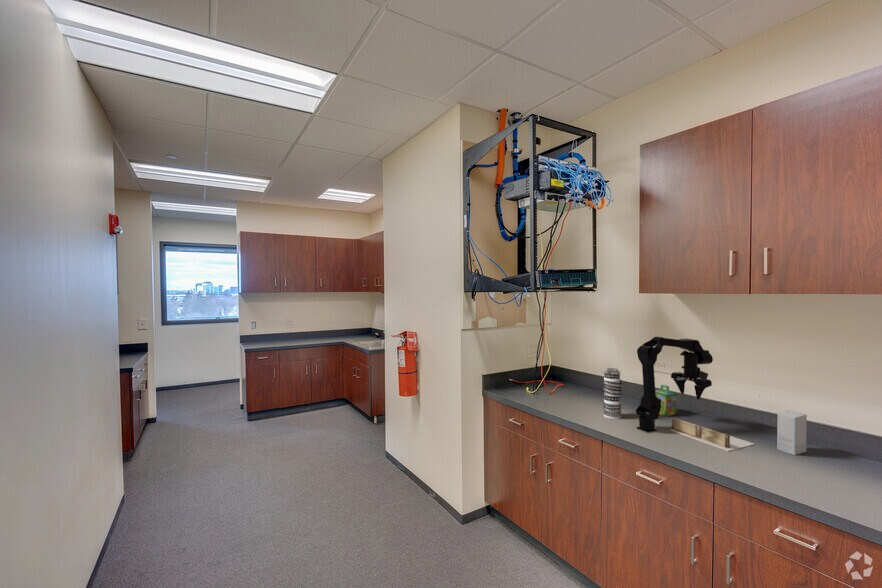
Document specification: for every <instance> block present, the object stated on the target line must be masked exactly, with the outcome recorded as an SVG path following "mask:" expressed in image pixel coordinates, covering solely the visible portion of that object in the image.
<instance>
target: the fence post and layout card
mask: <svg viewBox="0 0 882 588" xmlns="http://www.w3.org/2000/svg"><path fill="white" fill-rule="evenodd" d="M703 427H704V426H702V425H700V424H694V423H691V422H688V421H685V420H682V419H679V418H677V417H672V418H671V429H669V431H670V432H674V433H676V434H679V435H682V436H684V437H687V438H690V439H693V440H696V441H698V442H701V443H703V444H706V445H709V446H712V447H715V448H717V449H720V450H723V451H726V452H732V451H737V450H740V449H743V448H748V447H751V446H754V445H755V443H753V442H751V441H748V440H744V439H741V438H738V437H735V436H732V435H729V436H730V448H726V447H725V446H722V445H719V444H716V443H713V442H710V441H708V440H705V439H702V429H701V428H703ZM704 428H707V429H710V430H713V431H716V432H718V431H717V430H714V429H711V428H708V427H704Z"/></svg>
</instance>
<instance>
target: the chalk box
mask: <svg viewBox="0 0 882 588" xmlns="http://www.w3.org/2000/svg"><path fill="white" fill-rule="evenodd" d="M664 388H665V389H664ZM655 394H656V397H657V398H659V399H661V406H662V408H661V411H660V413H659V416H663V417H669V416H674V415H678V413H677V412H678V393H677V392H674V391H671V390H670V386H669V385H664V384H661V385H660V389H655Z"/></svg>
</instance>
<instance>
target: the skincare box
mask: <svg viewBox="0 0 882 588" xmlns="http://www.w3.org/2000/svg"><path fill="white" fill-rule="evenodd" d="M807 417H808V415H807V414H805V413H802V412H799V411H794V410H789V409H788V410H784V411H781V412H777V424H776V425H777V427H776V428H777V435H776V436H777V439H776V444H777V445H776V450H778V451H782V452H783V453H787V454H789V455H793V456H797V455H799V454H803V453H806V452H807V424H808V423H807V419H808V418H807Z"/></svg>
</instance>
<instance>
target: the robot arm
mask: <svg viewBox="0 0 882 588" xmlns="http://www.w3.org/2000/svg"><path fill="white" fill-rule="evenodd" d="M664 346H665V347H672V348H673V347H674V348H678V349H681V350H683V351H682V352H680V353H679V355H680V356H683V365H681V369H683V372H680V371H675V372H674V371H673V372H672V373H670V376H671V377H670V379H672V380H673V381H674V382H675V384H676V386H677V388H678V390H679V392H680V394H681V395H684V394H685V388H686V387H685V385H686V382H687V381H690V382H693V383H694V385H693V386H694V392H695V396H696V400H701V397H702V395H703V392H704V391H705V390H706V389H707V388H709V387H711V386H712V385H713V384H712V383H713V382H712V380H711V379H708V376H709V373H707V372H705V371H702V370H701V367H698V366H699V365H710V364H712V362H713V360H714V358H713V356H712V354H711V353H710V350H707V349H704V348H703V346H702V345H701V342H700V341H699V339H691V338H680V339H676V338H675V339H673V338H667V337H663V336H662V337H661V336H654V337H652V338H651V339H649V340H648V341H646V342H644V343H643V344H641V345H640V346H638V348H637V350H636V353H637V358H638V360H639V362H640V364H641V367H642V369H641V370H642V371H641V372H642V384H643V385H642V386H643V395H642V397H641V398H640V404H639V406H637V408H636V409H635V414H636V415H637V416H638V415H639V416H638V419H639V420H638V421H639V422H638V423H639V424H638V425H639V426H637V427H636V429H637V430H641V431H643V432H644V433H653V432H656V431H657V432H658V429H657V428H656V420H658V419H659V416H660V414H659V413H660V411H661V408H662V406H661V399H659V398H657V397H656V394H655V390H656V380H655V379H656V378H655V364H656V362H657V360H658V355H659V354H660V353H661V352H662V350H663V347H664Z"/></svg>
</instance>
